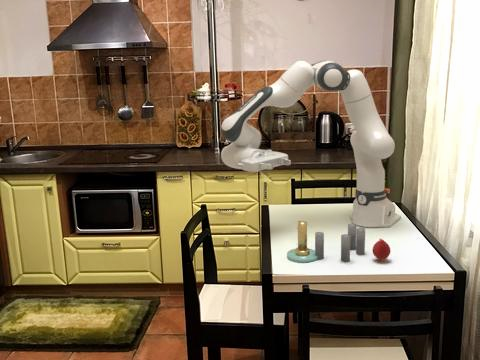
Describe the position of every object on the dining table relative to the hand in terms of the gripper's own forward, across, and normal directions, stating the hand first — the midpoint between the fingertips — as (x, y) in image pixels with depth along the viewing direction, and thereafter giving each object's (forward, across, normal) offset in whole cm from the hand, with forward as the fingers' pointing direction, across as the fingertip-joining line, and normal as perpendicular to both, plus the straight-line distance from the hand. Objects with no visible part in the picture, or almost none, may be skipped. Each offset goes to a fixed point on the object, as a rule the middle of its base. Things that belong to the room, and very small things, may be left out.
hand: (280, 164), depth 196 cm
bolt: (+15, -6, +29) cm, 33 cm away
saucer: (+15, -6, +30) cm, 34 cm away
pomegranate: (+37, +9, +30) cm, 49 cm away
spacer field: (+24, +5, +30) cm, 39 cm away
